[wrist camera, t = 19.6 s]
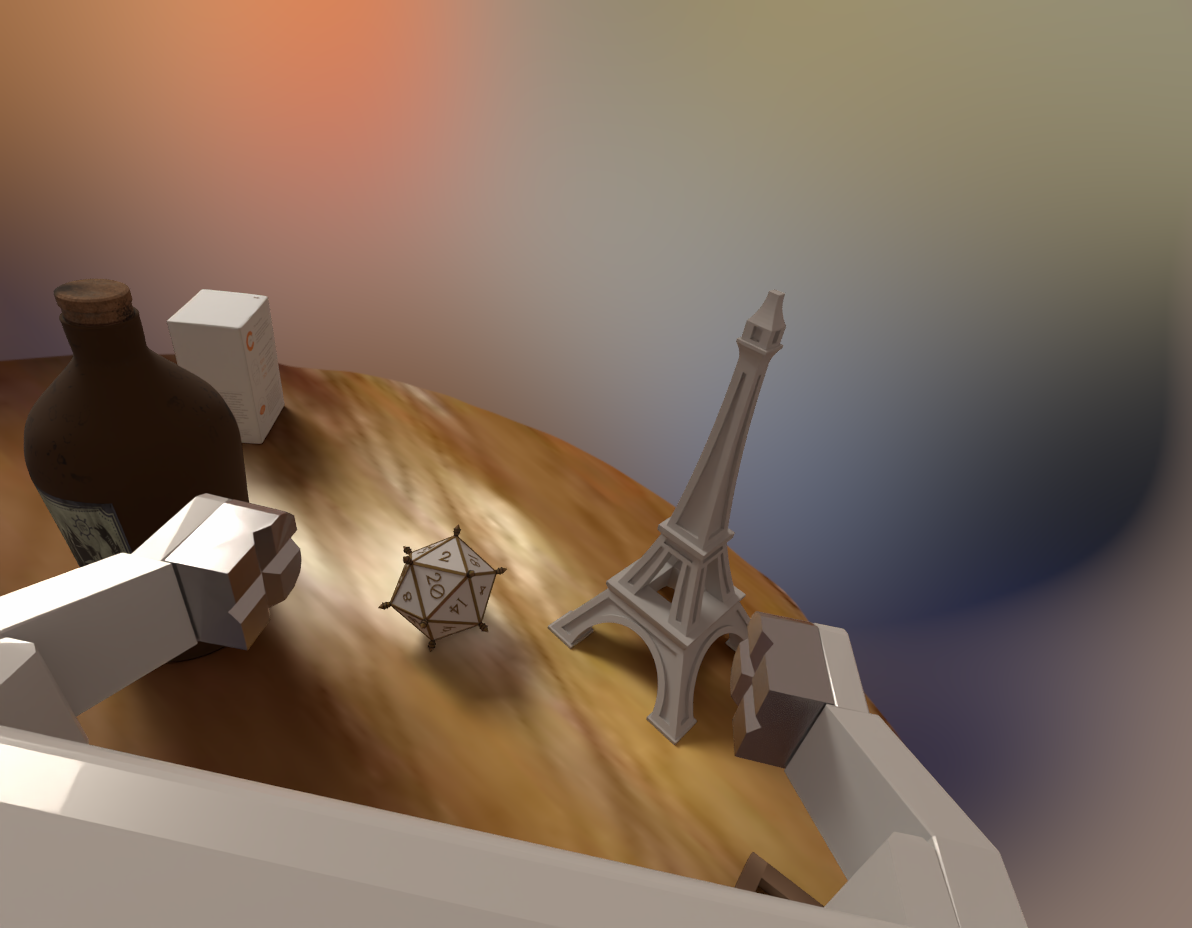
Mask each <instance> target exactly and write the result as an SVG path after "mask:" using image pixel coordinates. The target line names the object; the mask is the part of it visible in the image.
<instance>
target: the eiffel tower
mask: <svg viewBox="0 0 1192 928" xmlns="http://www.w3.org/2000/svg"><path fill="white" fill-rule="evenodd" d="M784 295H785V294H784V293H782V292H779V291H777V290H772V291H769V293H768V296H767V298H766V300H765V301H764V303H763V305H762V306H761V307H760V309H759V310H758V311H757V312H756V313H755V314H754V315H753V316H752V317H751V318H749V319H748V320H747V322H746V325H745V328H744V332H743V334H742V337H740V338H737V341H736V342H737V344H738V347H739V359H738V362H737V365H736V368H735V371H734V374H733V376H732V379H731V382H730V385H729V387H728V390H727V393H726V396H725V398H724V401H723V404H722V406H721V408H720V411H719V414H718V416H717V419H716V421H715V424H714V426H713V428H712V431H711V433H710V436H709V438H708V440H707V443H706V445H705V447H704V450H703V452H702V454H701V456H700V459H699V461H698V463H697V465H696V467H695V470H694V472H693V474H692V476H691V478H690V480H689V482H688V485H687V486H686V489H685V491H684V493H683V495H682V497H681V499H680V501H679V503H678V505H677V507H676V508H675V510H674V512H673V514H672V516H671V517H670V518H668V519H667V520H665V521H664V522H662V523H660V524H659V526H658V529H657V530H659V531H660V532H661V535H660V536H659V537H658V539H657V540H656V541H655V542H654V544H653V545H652V546H651V547H650V548H649V550H648V551H647V552H646V553H645V554H644V555H643V556H642V557H641V558H640V559H639V560H637V561H636V562H634V563H633V564H631V565H630V566H628V567H627V568H625V569H624V570H622V571H621V572H619V573H618V574H616V575H615V576H613V577H612V578H610V579H609V580H607V582H606V584H607V587H608V589H606V590H605V591H603V592H602V593H600V594H599V595H597V596H596V597H594V598H593V599H591V600H590V601H588V602H586V603H585V604H583V605H582V606H580V607H579V608H577V609H576V610H574V611H569V612H568V613H566V614H565V615H563V616H562V617H560V618H559V619H557V620H556V621H555V622H553V623H552V624H550V625H549V626H548V629H549V630H550V631H551V632H552V633H553V634H555V635H556V636H557V637H558V638H559V639H560V640H561V641H562V642H563V643H564V644H565V645H566V646H568V647H569V648H570V649H571V648H572V647H574V646H575V645H576V644H578V643H579V642H580V641H582V640H583V639H584V638H586V637H587V636H588V635H590V634H591V633H593V631H594V630H593V629H592V626H593V625H596V624H599V623H605V622H613V623H619V624H622V625H625V626H627V627H629V628H630V629H632V630H633V631H635V632H636V633H637V634H638V635H639V636H640V637H641V638H642V639H643V640H644V641H645V643H646V644H647V646H648V647H649V649H650V651H651V653H652V656H653V658H654V661H655V665H656V669H657V675H658V692H657V699H656V703H655V707H654V710H653V712H652V713H651V714H650V715H649V716H648V717H647V718H646V719H647V720H648V721H649V722H650V723H651V724H652V725H653V726H654V727H655V728H656V729H657V730H658V731H660V732H661V733H662V734H663V735H664V736H665V737H666V738H667V739H668V740H669V741H670V742H671V743H673V744H674V745H675V744H676V743H677V742H678V741H679V740H680V739H681V738H682V737H683V736H684V735H685V734H686V733H687V732H688V731H689V730H690V729H691V728H692V727H693V726H694V724H695V723H696V722H697V720H696V719H695V718H693V695H694V687H695V682H696V677H697V673H698V670H699V667H700V664H701V662H702V659H703V657H704V655H705V653H706V652H707V650H708V648H709V647H710V646H711V644H712V643H713V642H714V641H715V640H716V639H717V638H718V637H720V636H721V635H723V634H726V633H729V636H730V639H729V640H727V641H726V644H727V645H728V646H729V647H730V648H732V649H733V650H734V651H736V650H737V648H738V645H739V643H740V642H742V641H744V640H746V639H748V629H747V625H748V623H749V621H750V618H749V616H748V615H747V613H746V612H745V610H744V608H743V607H742V605H741V604H740V602H739V601H740V600H742V599H743V598H744V597H745V595H746V594H744V593H743V592H742V591H740V590H739V589H737V588H736V587H735V586H733V582H732V578H731V572H730V567H729V560H728V552H727V542H728V541H729V540H730V539H732V538H733V536H734V532H733V531H731V530H730V529H728V523H729V518H730V512H731V506H732V500H733V495H734V490H735V485H736V480H737V476H738V471H739V467H740V462H741V458H742V454H743V450H744V446H745V442H746V438H747V434H748V430H749V427H750V423H751V419H752V416H753V413H754V409H755V406H756V402H757V399H758V395H759V392H760V389H761V386H762V383H763V379H764V377H765V373H766V370H767V367H768V364H769V362H770V360H771V358H772V357H773V356H774V355H775V354H776V353H777V352H778V351H779V350H780V349H782V347H783V345H782V344H780V342H781V339H782V336H783V333H784V330H785V328H786V325H785V322H784V319H783V313H782V303H783V299H784ZM666 586H668V587H671V588H673V589H675V592H674V596H673V601H672V604H671V603H670V602H669V601H667V600H666V599H665V598H664V597H662V596H661V595H660V594H658V593H657V591H658V590H660V589H661V588H663V587H666Z"/></svg>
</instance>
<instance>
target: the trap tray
mask: <svg viewBox="0 0 1192 928" xmlns="http://www.w3.org/2000/svg"><path fill="white" fill-rule="evenodd" d="M757 886H759V887H760V888H761V889H762V890H764V891H765V892H766V893H768V894H769V895H770V896H774V897H778V898H783V899H788V900H792V901H797V902H801V903H806V904H810V905H815V906H819V907H824V906H823V905H821V904H820V903H819V902H818V901H816V900H815V899H814V898H812V897H811V896H810V895H808V894H807V893H806V892H805V891H803V890H802V889H801V888H799V887H798V886H797V885H795V884H794V883H793V882H792V881H790V880H789V879H788V878H786V877H785V876H784V875H783V874H781V873H780V872H779V871H777V870H776V869H775V868H773V867H772V866H771V865H770V864H768V863H767V862H766V861H764V860H763V859H762V858H761V857H759V856H758V855H757V854H755V853H754V852H752V854H751V855H750V857H749V858H748V860H747V862H746V864H745V866H744V868H743V871H742V873H741V875H740V877H739V879H738V881H737V883H736V885H735V887H734V888H738V889H742V890H747V891H751V892H755V891H756V889H757Z"/></svg>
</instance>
